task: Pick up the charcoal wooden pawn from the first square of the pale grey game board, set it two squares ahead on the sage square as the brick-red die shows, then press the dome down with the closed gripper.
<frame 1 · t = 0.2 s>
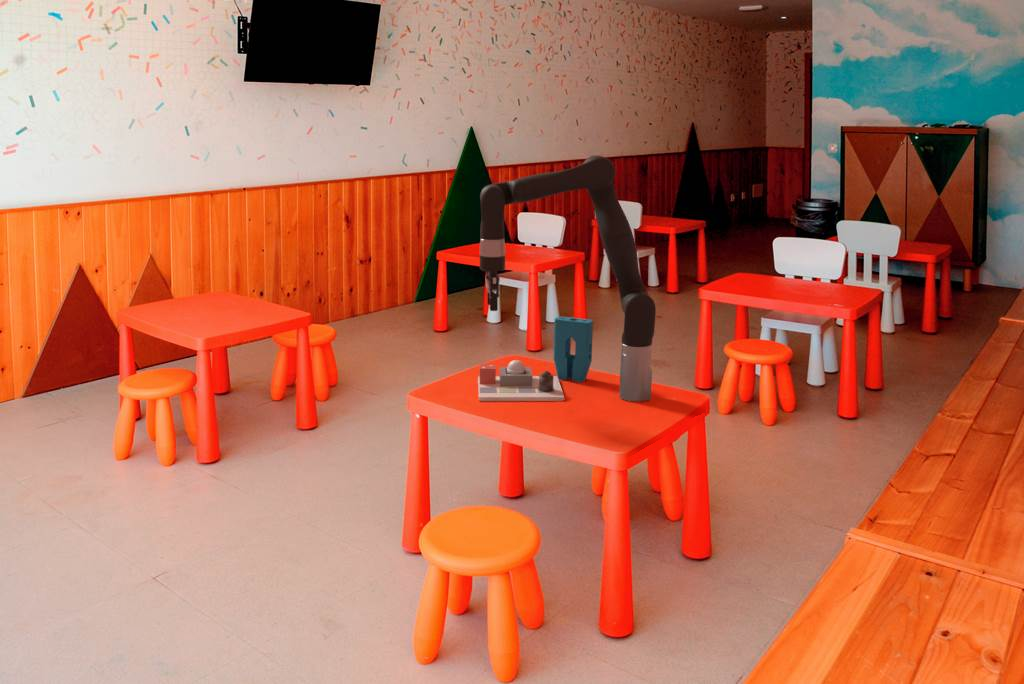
hand: (492, 307, 271), 28 cm above the table, tool pointing down, fingers open, 8 cm apart
dome housing: (515, 376, 290), on the game board, point 3 cm above the table
game board: (519, 389, 286), on the table
block: (571, 379, 299), on the table
pawn: (546, 389, 282), point 1 cm above the table, touching game board
dome: (515, 368, 289), point 6 cm above the table, slide at 0.0 cm
die: (487, 381, 290), resting on game board
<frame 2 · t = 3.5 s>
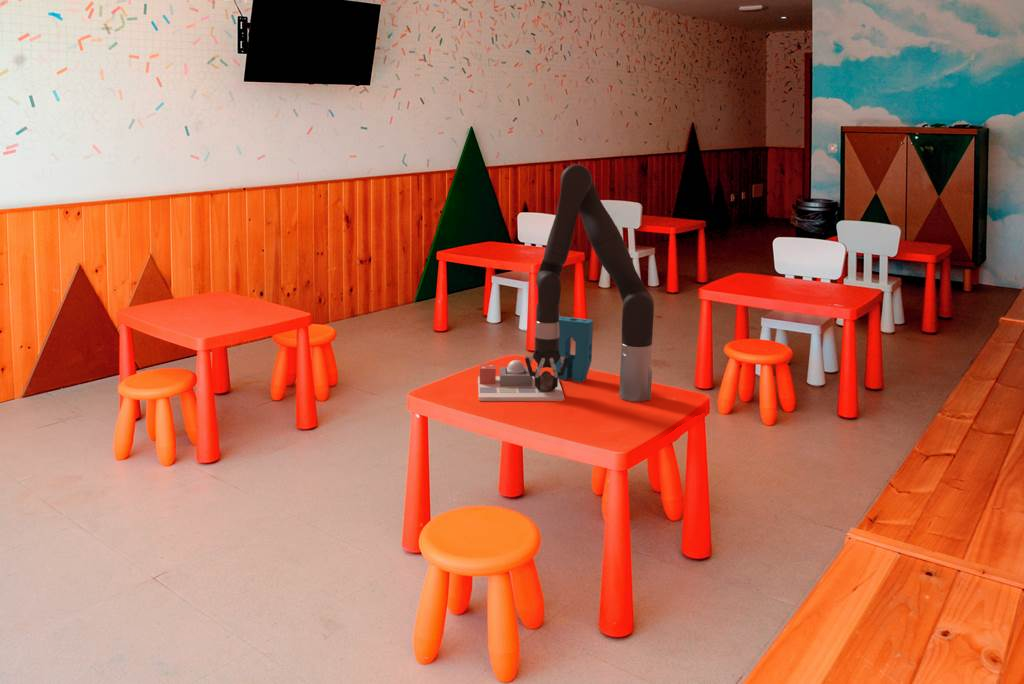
hand: (546, 388, 282), 2 cm above the table, tool pointing down, fingers closed on pawn, 4 cm apart
pawn: (546, 389, 282), point 1 cm above the table, touching game board, gripper
everything else where it was.
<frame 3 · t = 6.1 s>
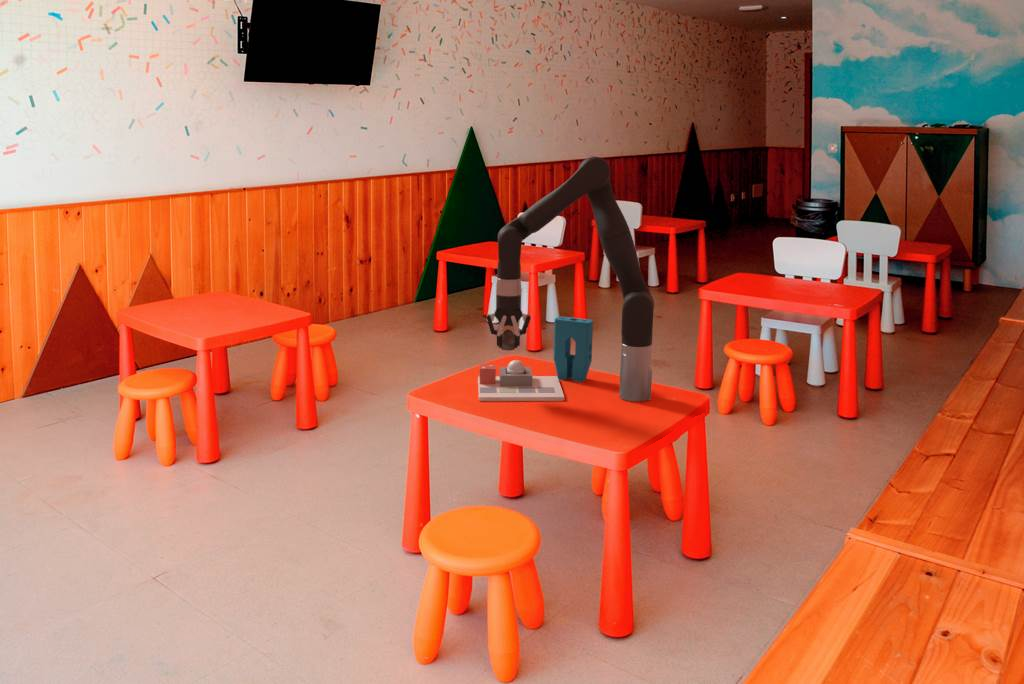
hand: (508, 347, 278), 15 cm above the table, tool pointing down, fingers closed on pawn, 4 cm apart
pawn: (508, 348, 278), point 15 cm above the table, touching gripper
everything else where it was.
when the fingers open (3 cm above the table, at t = 8.6 s): pawn drops 1 cm, resting on game board.
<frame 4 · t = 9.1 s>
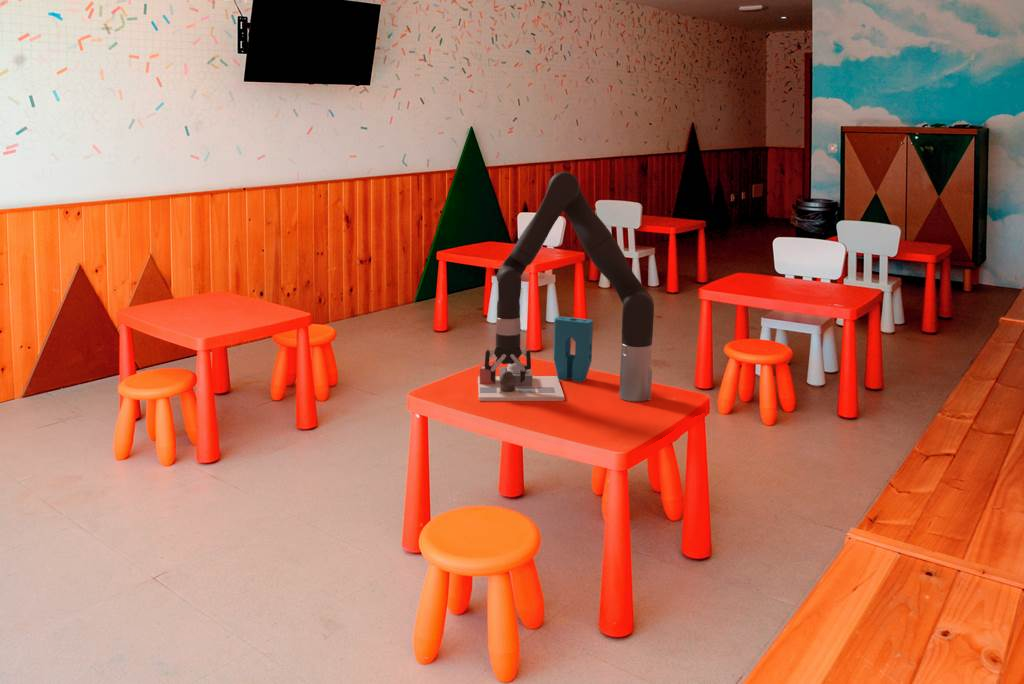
hand: (507, 382, 281), 4 cm above the table, tool pointing down, fingers open, 8 cm apart
pawn: (507, 389, 282), point 1 cm above the table, touching game board
everything else where it was.
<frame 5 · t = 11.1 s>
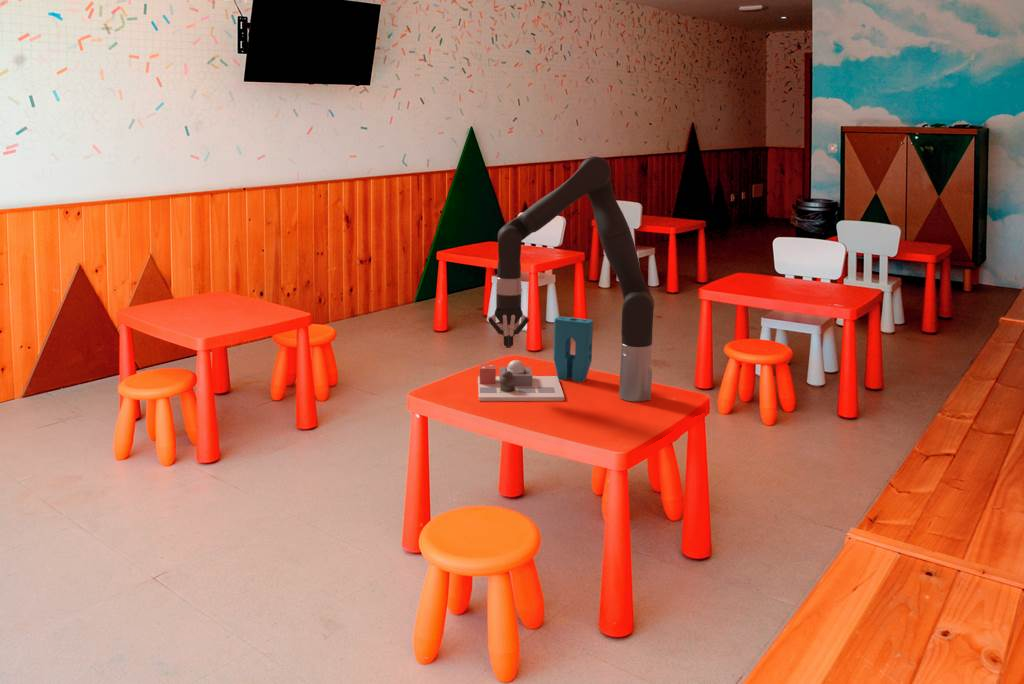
hand: (508, 347, 278), 15 cm above the table, tool pointing down, fingers closed
nothing on the table moved.
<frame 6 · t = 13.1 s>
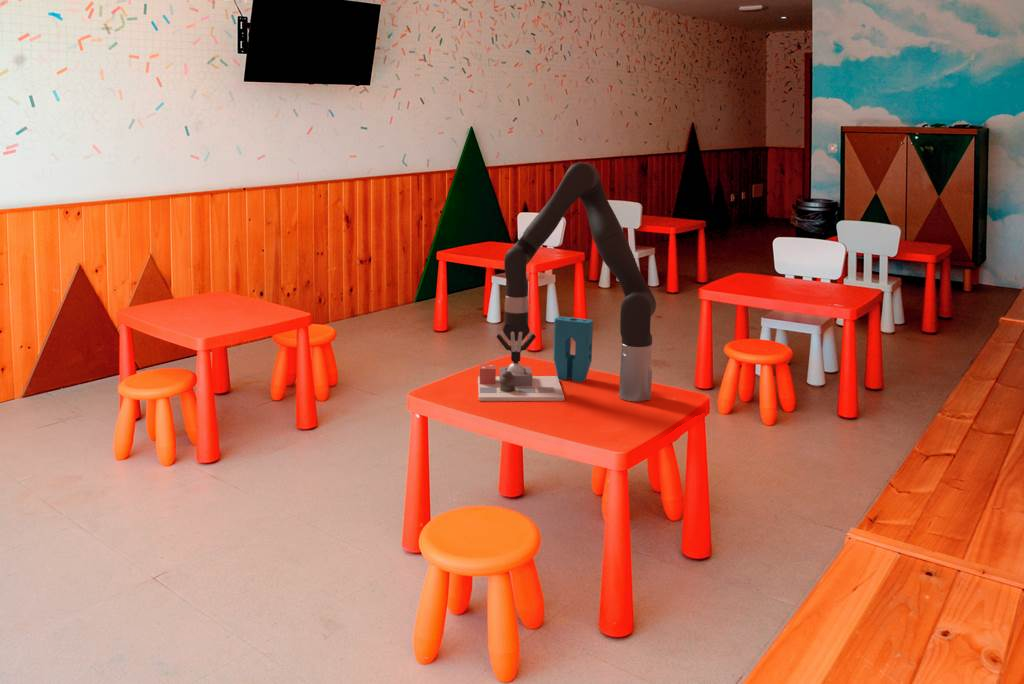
hand: (515, 362, 289), 8 cm above the table, tool pointing down, fingers closed
dome: (515, 370, 290), point 5 cm above the table, slide at 0.8 cm, touching gripper
everything else where it was.
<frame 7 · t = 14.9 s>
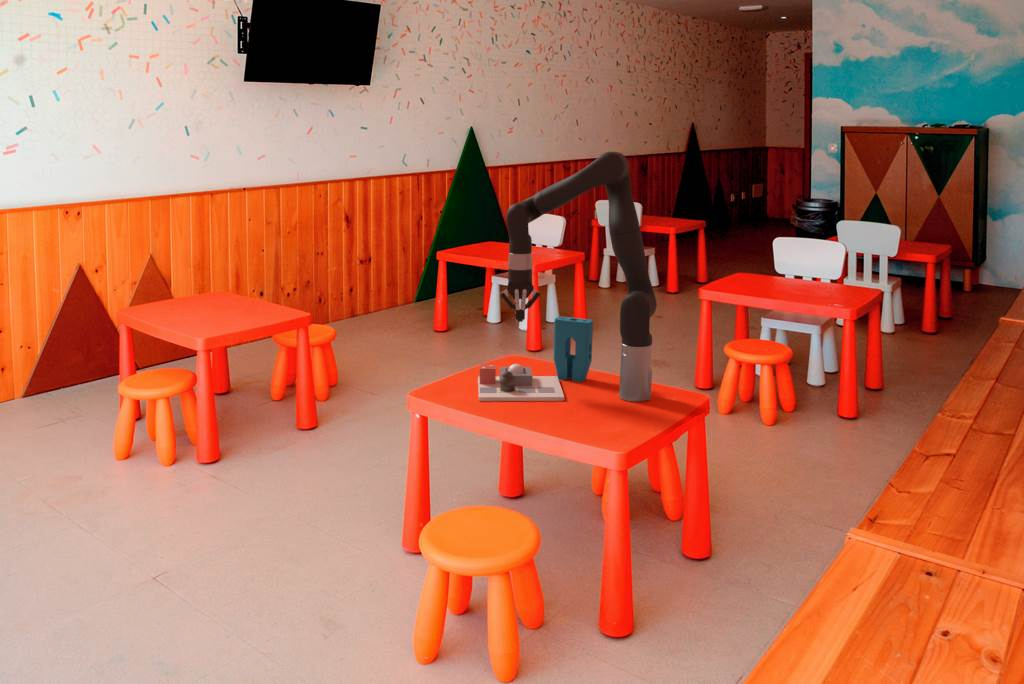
hand: (520, 321, 287), 21 cm above the table, tool pointing down, fingers closed
dome: (515, 371, 290), point 4 cm above the table, slide at 1.3 cm
everything else where it was.
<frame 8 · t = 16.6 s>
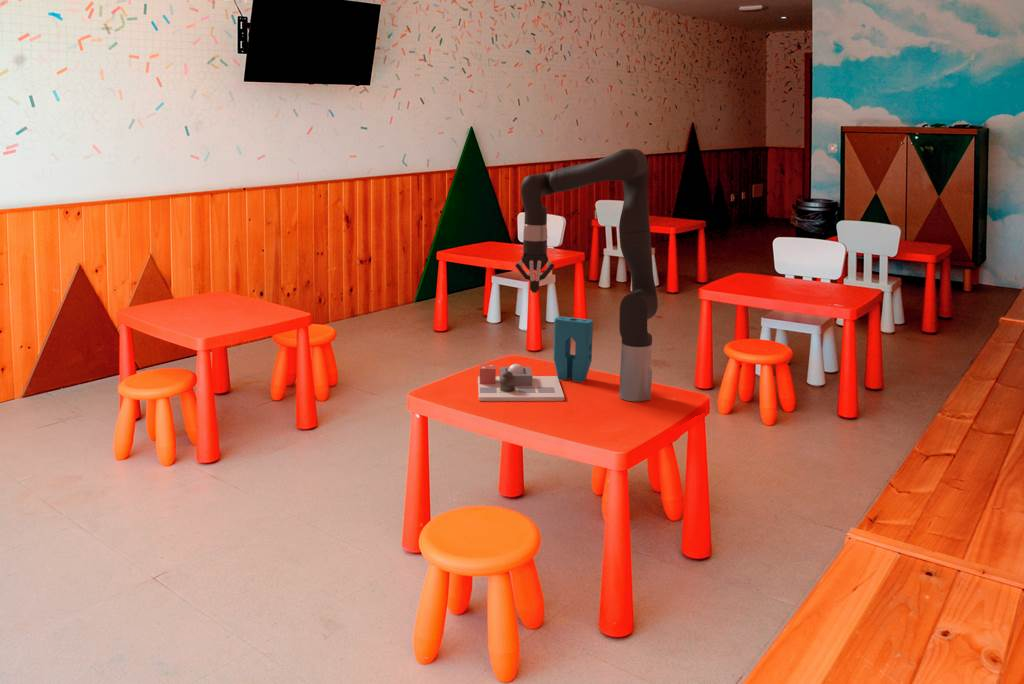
hand: (534, 292, 291), 29 cm above the table, tool pointing down, fingers closed
nothing on the table moved.
at the end: pawn 0.0 cm from the target spot, point 1.3 cm above the table; pawn tilted 0°; dome slide at 1.3 cm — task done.
